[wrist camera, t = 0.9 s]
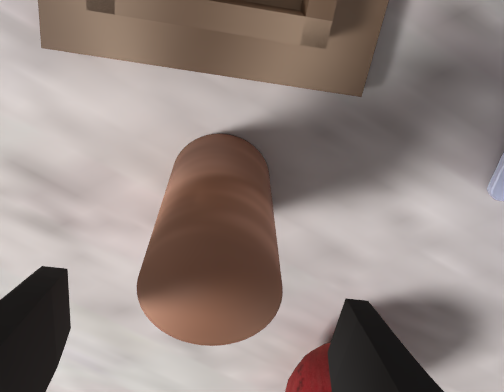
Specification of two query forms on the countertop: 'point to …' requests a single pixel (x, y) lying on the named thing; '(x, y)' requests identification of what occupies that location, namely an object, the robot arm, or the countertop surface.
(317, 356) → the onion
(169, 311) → the wooden peg
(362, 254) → the countertop surface
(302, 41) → the board
